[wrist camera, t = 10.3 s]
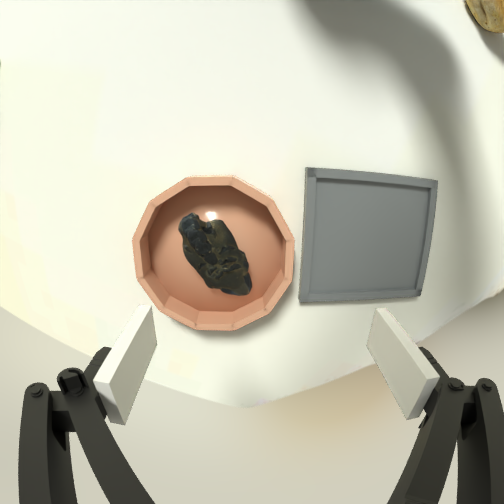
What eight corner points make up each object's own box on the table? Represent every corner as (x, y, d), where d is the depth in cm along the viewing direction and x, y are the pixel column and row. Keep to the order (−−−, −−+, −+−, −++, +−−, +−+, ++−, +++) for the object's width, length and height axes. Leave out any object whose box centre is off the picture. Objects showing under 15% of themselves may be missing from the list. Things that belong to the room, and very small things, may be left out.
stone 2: (503, 40, 28) (534, 31, 18) (474, 32, 29) (507, 19, 19) (479, -11, 24) (506, -25, 15) (448, -22, 25) (475, -40, 15)
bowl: (139, 178, 36) (128, 180, 33) (291, 175, 37) (297, 177, 33) (151, 313, 42) (144, 327, 39) (284, 315, 43) (288, 329, 39)
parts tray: (305, 167, 37) (307, 167, 36) (433, 180, 37) (437, 180, 36) (298, 298, 42) (299, 301, 41) (416, 293, 43) (420, 296, 42)
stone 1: (225, 303, 42) (223, 322, 37) (167, 227, 38) (157, 238, 33) (266, 278, 41) (269, 296, 36) (209, 197, 37) (204, 204, 32)
